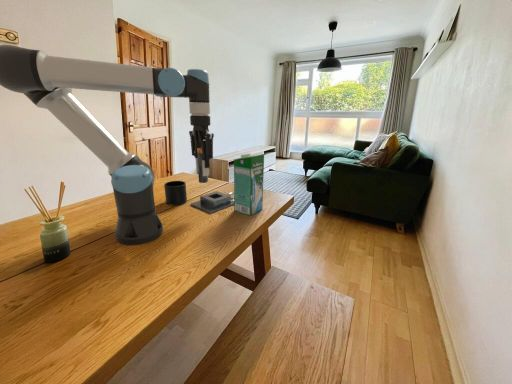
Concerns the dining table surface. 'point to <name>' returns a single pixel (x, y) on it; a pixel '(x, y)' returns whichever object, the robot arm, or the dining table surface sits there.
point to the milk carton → (248, 183)
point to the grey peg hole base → (214, 202)
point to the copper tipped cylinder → (200, 171)
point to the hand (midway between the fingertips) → (202, 174)
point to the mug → (175, 192)
